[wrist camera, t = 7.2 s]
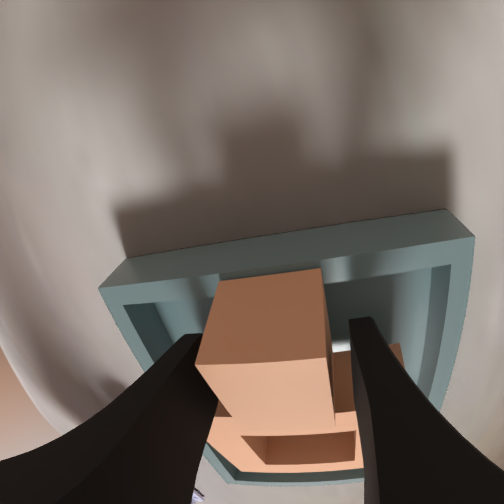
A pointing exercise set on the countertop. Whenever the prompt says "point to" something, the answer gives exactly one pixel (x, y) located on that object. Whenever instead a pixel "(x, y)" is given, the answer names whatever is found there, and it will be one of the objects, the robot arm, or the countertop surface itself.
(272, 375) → the collar
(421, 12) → the countertop surface
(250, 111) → the countertop surface
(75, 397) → the countertop surface
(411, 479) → the robot arm
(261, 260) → the tray
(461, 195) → the countertop surface
